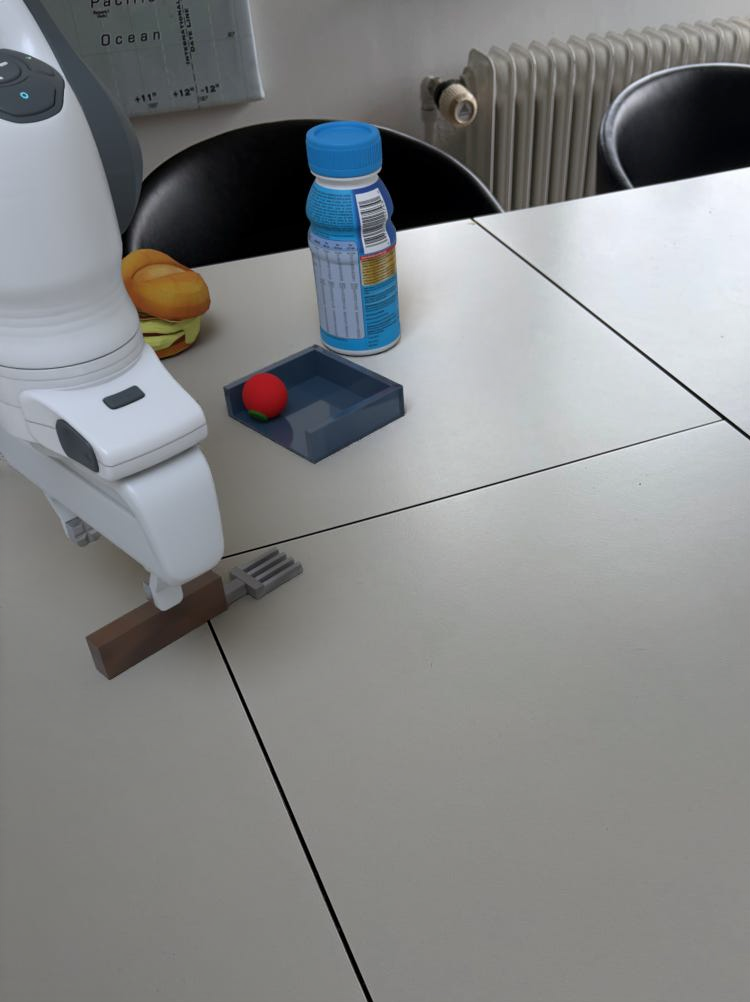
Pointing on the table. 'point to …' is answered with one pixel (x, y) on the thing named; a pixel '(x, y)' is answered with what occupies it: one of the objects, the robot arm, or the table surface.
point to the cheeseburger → (165, 299)
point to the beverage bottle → (352, 239)
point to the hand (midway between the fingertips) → (124, 569)
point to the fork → (184, 612)
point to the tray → (322, 403)
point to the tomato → (264, 396)
